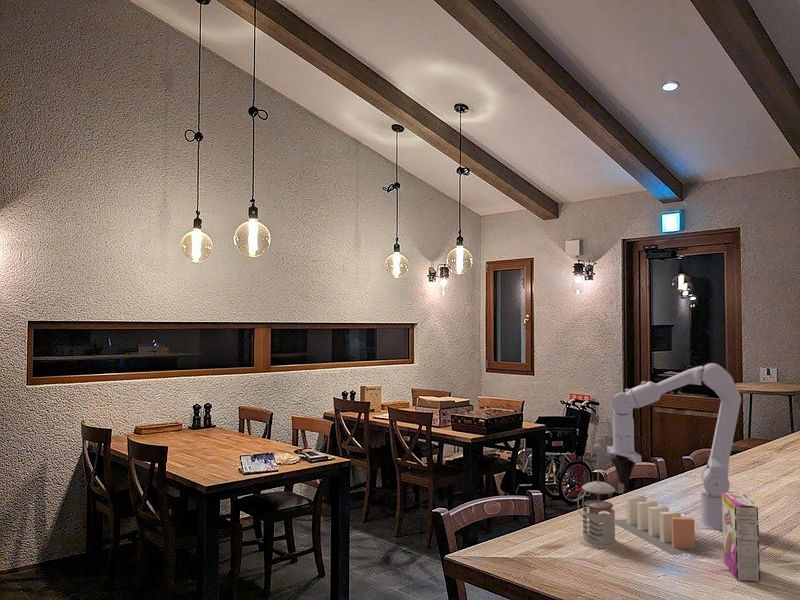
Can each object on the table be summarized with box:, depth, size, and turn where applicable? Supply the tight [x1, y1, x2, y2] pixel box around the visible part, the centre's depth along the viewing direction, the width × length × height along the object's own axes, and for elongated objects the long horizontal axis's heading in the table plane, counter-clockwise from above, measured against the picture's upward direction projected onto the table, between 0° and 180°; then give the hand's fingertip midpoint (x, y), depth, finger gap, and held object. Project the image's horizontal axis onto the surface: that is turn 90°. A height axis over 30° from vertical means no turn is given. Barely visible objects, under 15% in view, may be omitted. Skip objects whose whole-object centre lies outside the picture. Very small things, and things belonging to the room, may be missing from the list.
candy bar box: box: [722, 492, 761, 583], centre depth 150 cm, size 11×5×16 cm, turn 168°
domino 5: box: [671, 516, 696, 549], centre depth 165 cm, size 2×5×7 cm, turn 82°
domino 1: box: [626, 495, 647, 525], centre depth 185 cm, size 2×5×7 cm, turn 103°
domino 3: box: [648, 505, 670, 536], centre depth 175 cm, size 2×5×7 cm, turn 103°
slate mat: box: [614, 518, 716, 556], centre depth 175 cm, size 28×12×1 cm, turn 13°
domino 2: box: [637, 500, 658, 530], centre depth 180 cm, size 2×5×7 cm, turn 103°
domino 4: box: [660, 510, 682, 542], centre depth 170 cm, size 2×5×7 cm, turn 103°
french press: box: [577, 443, 619, 550], centre depth 171 cm, size 10×12×25 cm
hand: (624, 483), depth 191 cm, fingers closed
